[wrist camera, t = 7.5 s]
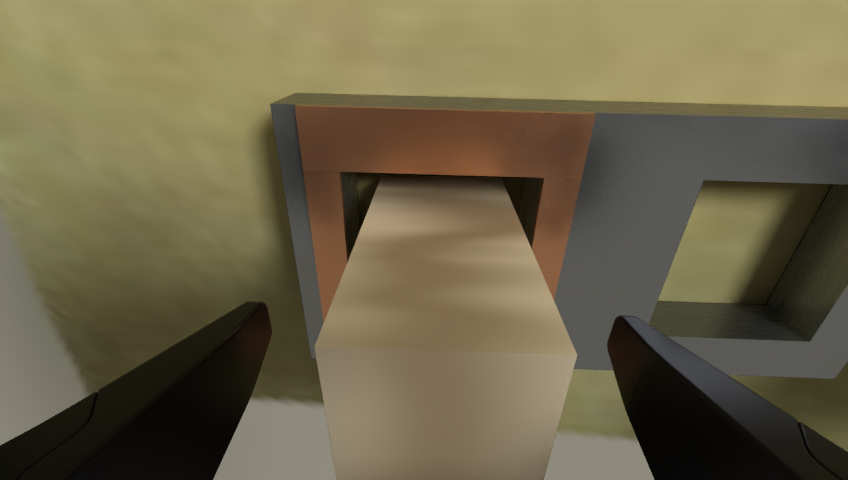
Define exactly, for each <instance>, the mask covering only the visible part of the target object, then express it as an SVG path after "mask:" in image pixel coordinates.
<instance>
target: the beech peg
mask: <svg viewBox="0 0 848 480" xmlns="http://www.w3.org/2000/svg"><path fill="white" fill-rule="evenodd" d="M315 353H316V359H317V365H318V371H319V377H320V383H321V389H322V395H323V401H324V407H325V413H326V419H327V425H328V431H329V437H330V443H331V449H332V455H333V461H334V467H335V473H336V479H337V480H544V476H545V473H546V469H547V465H548V461H549V458H550V454H551V450H552V447H553V442H554V439H555V436H556V432H557V428H558V424H559V421H560V417H561V413H562V410H563V406H564V402H565V399H566V395H567V391H568V388H569V384H570V380H571V376H572V373H573V369H574V365H575V362H576V358H577V353H576V351H575V349H574V346H573V344H572V342H571V339H570V337H569V335H568V332H567V330H566V328H565V325H564V323H563V321H562V318H561V316H560V314H559V311H558V309H557V307H556V304H555V302H554V300H553V297H552V295H551V293H550V290H549V288H548V286H547V283H546V281H545V279H544V276H543V274H542V272H541V270H540V267H539V265H538V263H537V260H536V258H535V256H534V253H533V251H532V249H531V246H530V244H529V242H528V239H527V237H526V235H525V232H524V230H523V228H522V225H521V223H520V221H519V218H518V216H517V214H516V211H515V209H514V207H513V204H512V202H511V200H510V197H509V195H508V193H507V190H506V188H505V186H504V183H503V181H502V179H501V178H473V177H424V176H381V178H380V181H379V184H378V186H377V189H376V191H375V194H374V196H373V199H372V201H371V204H370V207H369V209H368V212H367V214H366V217H365V219H364V222H363V224H362V227H361V229H360V232H359V235H358V237H357V240H356V242H355V245H354V247H353V250H352V252H351V255H350V257H349V260H348V263H347V265H346V268H345V270H344V273H343V275H342V278H341V280H340V283H339V285H338V288H337V291H336V293H335V296H334V298H333V301H332V303H331V306H330V308H329V311H328V314H327V316H326V319H325V321H324V324H323V326H322V329H321V331H320V334H319V336H318V339H317V342H316V344H315Z"/></svg>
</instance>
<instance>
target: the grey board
mask: <svg viewBox="0 0 848 480" xmlns="http://www.w3.org/2000/svg"><path fill="white" fill-rule="evenodd" d="M270 105H271V112H272V118H273V124H274V130H275V136H276V142H277V149H278V155H279V161H280V167H281V173H282V180H283V186H284V192H285V198H286V204H287V210H288V217H289V223H290V229H291V235H292V241H293V247H294V254H295V260H296V266H297V272H298V278H299V285H300V291H301V297H302V303H303V309H304V315H305V322H306V328H307V334H308V340H309V346H310V352H311V359H316V353H315V344H316V342H317V339H318V336H319V334H320V331H321V329H322V326H323V324H324V321H325V319H326V316H327V314H328V311H329V308H330V306H331V303H332V301H333V298H334V296H335V293H336V291H337V288H338V285H339V283H340V280H341V278H342V275H343V273H344V270H345V268H346V265H347V263H348V260H349V257H350V255H351V252H352V250H353V247H354V245H355V242H356V240H357V237H358V235H359V232H360V224H359V209H358V193H357V178H356V172H368V173H401V174H434V175H467V176H501V177H524V184H523V190H522V197H521V204H520V210H519V217H518V218H519V221H520V223H521V225H522V228H523V230H524V232H525V235H526V237H527V239H528V242H529V244H530V246H531V249H532V251H533V253H534V256H535V258H536V260H537V263H538V265H539V267H540V270H541V272H542V274H543V276H544V279H545V281H546V283H547V286H548V288H549V290H550V293H551V295H552V297H553V300H554V302H555V304H556V307H557V309H558V311H559V314H560V316H561V318H562V321H563V323H564V325H565V328H566V330H567V332H568V335H569V337H570V339H571V342H572V344H573V346H574V349H575V351H576V353H577V358H576V362H575V365H574V369H592V370H613V367H612V363H611V360H610V357H609V353H608V349H607V342H608V338H609V335H610V332H611V329H612V326H613V323H614V320H615V318H616V317H617V316H620V315H622V316H636V317H638V318H639V319H641V320H642V321H644V322H645V323H647V324H649V325H650V326H652V327H653V328H655V329H656V330H658V331H659V332H661V333H663V334H664V335H666V336H667V337H669V338H670V339H672V340H673V341H675V342H677V343H678V344H680V345H681V346H683V347H684V348H686V349H688V350H689V351H691V352H692V353H694V354H695V355H697V356H698V357H700V358H702V359H703V360H705V361H706V362H708V363H709V364H711V365H712V366H714V367H716V368H717V369H719V370H720V371H722V372H723V373H725V374H726V375H746V376H771V377H797V378H823V379H835V378H836V376H837V375H838V374H839V372H840V371H841V370H842V368H843V367H844V366H845V364H846V363H847V361H848V108H842V107H804V106H766V105H729V104H691V103H653V102H615V101H577V100H539V99H501V98H463V97H426V96H388V95H350V94H312V93H294V94H292V95H290V96H287V97H285V98H283V99H281V100H278V101H276V102H274V103H271V104H270ZM704 180H713V181H746V182H779V183H813V184H833V186H832V187H831V189H830V191H829V193H828V195H827V196H826V198H825V200H824V202H823V204H822V205H821V207H820V209H819V211H818V213H817V214H816V216H815V218H814V220H813V222H812V223H811V225H810V227H809V229H808V231H807V232H806V234H805V236H804V238H803V240H802V241H801V243H800V245H799V247H798V249H797V250H796V252H795V254H794V256H793V258H792V259H791V261H790V263H789V265H788V267H787V268H786V270H785V272H784V274H783V276H782V277H781V279H780V281H779V283H778V285H777V286H776V288H775V290H774V292H773V294H772V295H771V297H770V299H769V301H768V303H767V304H766V305H749V304H721V303H693V302H665V301H658V298H659V296H660V293H661V290H662V288H663V285H664V283H665V280H666V277H667V275H668V272H669V270H670V267H671V264H672V262H673V259H674V257H675V254H676V251H677V249H678V246H679V244H680V241H681V238H682V236H683V233H684V231H685V228H686V225H687V223H688V220H689V218H690V215H691V212H692V210H693V207H694V205H695V202H696V199H697V197H698V194H699V192H700V189H701V186H702V184H703V181H704Z"/></svg>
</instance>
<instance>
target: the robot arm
mask: <svg viewBox="0 0 848 480" xmlns="http://www.w3.org/2000/svg"><path fill="white" fill-rule="evenodd" d="M271 334H272V328H271V323H270V318H269V314H268V309H267V306H266V304H265V303H264V302H252V301H250V302H246V303H244V304H242V305H241V306H239V307H237V308H236V309H234V310H232V311H231V312H229V313H227V314H226V315H224V316H222V317H220V318H219V319H217V320H215V321H214V322H212V323H210V324H209V325H207V326H205V327H204V328H202V329H200V330H199V331H197V332H195V333H194V334H192V335H190V336H189V337H187V338H185V339H184V340H182V341H180V342H178V343H177V344H175V345H173V346H172V347H170V348H168V349H167V350H165V351H163V352H162V353H160V354H158V355H157V356H155V357H153V358H152V359H150V360H148V361H147V362H145V363H143V364H141V365H140V366H138V367H136V368H135V369H133V370H131V371H130V372H128V373H126V374H125V375H123V376H121V377H120V378H118V379H116V380H115V381H113V382H111V383H110V384H108V385H106V386H104V387H103V388H101V389H100V390H99V391H98V393H97V392H95V393H93V394H91V395H89V396H88V397H86V398H84V399H83V400H81V401H79V402H78V403H76V404H75V405H72V406H71V407H69V408H67V409H65V410H64V411H62V412H60V413H59V414H57V415H55V416H53V417H52V418H50V419H48V420H46V421H45V422H43V423H41V424H40V425H38V426H36V427H34V428H32V429H30V430H28V431H26V432H25V433H23V434H21V435H19V436H17V437H15V438H14V439H12V440H10V441H8V442H6V443H4V444H2V445H1V446H0V480H213V478H214V476H215V474H216V472H217V469H218V467H219V465H220V463H221V461H222V459H223V456H224V454H225V452H226V450H227V448H228V445H229V443H230V441H231V439H232V437H233V435H234V432H235V430H236V428H237V426H238V424H239V422H240V419H241V417H242V415H243V413H244V411H245V408H246V406H247V404H248V402H249V400H250V397H251V395H252V392H253V389H254V387H255V384H256V381H257V378H258V375H259V372H260V369H261V366H262V363H263V360H264V357H265V354H266V351H267V348H268V345H269V342H270V338H271ZM607 349H608V353H609V357H610V360H611V363H612V367H613V370H614V374H615V377H616V380H617V384H618V387H619V390H620V394H621V397H622V401H623V404H624V407H625V410H626V412H627V415H628V417H629V420H630V422H631V425H632V427H633V429H634V432H635V434H636V437H637V439H638V441H639V444H640V446H641V449H642V451H643V453H644V456H645V458H646V460H647V463H648V465H649V468H650V470H651V472H652V475H653V476H654V479H655V480H848V452H847V451H845V450H844V449H842V448H840V447H839V446H837V445H836V444H834V443H832V442H831V441H829V440H828V439H826V438H824V437H823V436H821V435H820V434H818V433H817V432H815V431H814V430H812V429H811V428H809V427H807V426H806V425H804V424H803V423H801V422H797V420H796V419H795V418H793V417H792V416H790V415H789V414H787V413H786V412H784V411H782V410H781V409H779V408H778V407H776V406H775V405H773V404H772V403H770V402H768V401H767V400H765V399H764V398H762V397H761V396H759V395H758V394H756V393H754V392H753V391H751V390H750V389H748V388H747V387H745V386H744V385H742V384H740V383H739V382H737V381H736V380H734V379H733V378H731V377H730V376H728V375H726V374H725V373H723V372H722V371H720V370H719V369H717V368H716V367H714V366H712V365H711V364H709V363H708V362H706V361H705V360H703V359H702V358H700V357H698V356H697V355H695V354H694V353H692V352H691V351H689V350H688V349H686V348H684V347H683V346H681V345H680V344H678V343H677V342H675V341H673V340H672V339H670V338H669V337H667V336H666V335H664V334H663V333H661V332H659V331H658V330H656V329H655V328H653V327H652V326H650V325H649V324H647V323H645V322H644V321H642V320H641V319H639V318H638V317H636V316H622V315H620V316H617V317H616V318H615V320H614V323H613V326H612V329H611V332H610V335H609V338H608V342H607Z"/></svg>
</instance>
